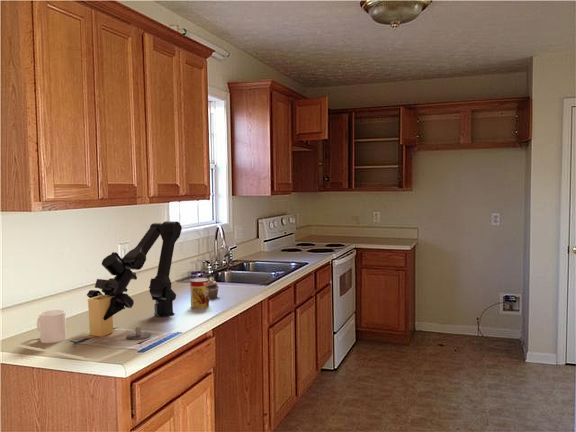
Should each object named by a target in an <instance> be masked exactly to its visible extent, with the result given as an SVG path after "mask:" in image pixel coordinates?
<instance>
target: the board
mask: <svg viewBox="0 0 576 432" xmlns="http://www.w3.org/2000/svg"><path fill="white" fill-rule="evenodd" d="M156 334H157V332H151V331H142V327H141V326H140V325H138V326H136V327H135V330H121V329H113V332H112V333H110V334H107V335H105V336H102V337H99V336H94V335H90V333H89V334H87V335H84V336H82V338H84V339H94V340H95V339H97V340H106V341H107V340H109V341H120V342H121V341H122V342H123V341H124V342H136V344H137V345H142V344H143V343H145V342H147V341H148V340H149V341H150V337H152V336H154V335H156Z"/></svg>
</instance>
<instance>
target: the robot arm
mask: <svg viewBox="0 0 576 432" xmlns="http://www.w3.org/2000/svg"><path fill="white" fill-rule="evenodd" d="M182 228H183V226H182V225H181V223H180V222H179V221H171V220H170V221H169V220H168V221H167V220H166V221H163V222H162V223H161V222H160V223H159V222H154V223H151V224H150V225H149V229H147V231H146V233H145V234H144V235H143V236H142V238H141V239H140V241H139V242H138V244H137V245H136V246H135V247H134V248H133V249H131V250H129V251H128V252H127V253H125V255H124V256H123V257H121V256H120V255H119V253H117V252H116V251H115V252H113V251H112V252H111V253H110V254H109V255H107V256H105V257H104V258H103V259H102V261H101V266H102V267H104V268H105V270H106V271H107V272H109V274H110V275H111V276H114V277H113V278H109V279H101V278H96V281H95V285H94V288H95V289H90V290H89V291H88V292H87V294H86V296H87V297H88V299H90V298H93V297H97V296H100V295H101V296H108V297H111V298H112V299H111V300H110V306H109V308H108V310H107V312H106V314H105V316H104V318H103V319H104V320H107V319H108V318H110V317H111V316H114V315H116V314H117V313H119V312H121V311H122V310H125V309H126V308H127V309H132V308H133V306H134V305H135V304H134V299H133V298H132V297H131V296H130V294H128V293H127V292H128V290H129V289H128V288H127V287H128V286H129V284H130V283H131V281H132V280H135V281H136V280H137V279H138V276H137V272H135V271H134V270H137V271H138V270H141V269H142V268H143V267H144V265H145V263H146V262H147V254H148V253H149V252H150V251H151V250H150V249H151V248H152V247H153V246H154V244H155V243H156V241H157V240H158V238H159V237H160V238H161V240H162V243H161V250H160V256H159V260H158V261H159V262H158V267H157V271H156V275H155V277H154V278H151V279H150V283H149V287H148V289H149V294H150V296H151V300H152V301H155V303H154V315H155V316H157V317H160V318H162V317H167V316H173V315H175V314H176V313H175V312H174V307H173V305H174V304H173V301H175V300H176V298H177V294H176V292H174V290H173V289H172V282H171V278H170V274H171V273H170V272H171V266H172V261H173V257H174V256H173V255H174V251H175V250H174V249H175V245H176V244H175V243H176V242H177V241H178V239H179V238H180V237H181V233H182V231H183V230H182ZM132 270H133V271H134V272H133V271H132ZM96 289H99V290H96ZM100 290H101V291H100ZM125 292H126V293H125Z"/></svg>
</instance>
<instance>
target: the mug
mask: <svg viewBox="0 0 576 432" xmlns="http://www.w3.org/2000/svg"><path fill="white" fill-rule="evenodd" d="M38 316H39V317H38V318H37V320H36V327H37V331H38V332H39V337H40V338H39V340H40V342H41V343H43V344H53V343H54V344H55V343H59V342H62V341H65V340H66V339H67V319H66V310H64V309H51V310H46V311H45V310H44V311H41V312H39V314H38Z"/></svg>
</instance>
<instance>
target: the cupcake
mask: <svg viewBox="0 0 576 432" xmlns="http://www.w3.org/2000/svg"><path fill="white" fill-rule="evenodd" d="M202 278H206V279H208V291H209V300H214V299H217V298H218V293H219V285H218V284H217V281H216V280H215V278H214V276H212V275H210V276H209V277H208V276H207V277H205V276H202Z"/></svg>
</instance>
